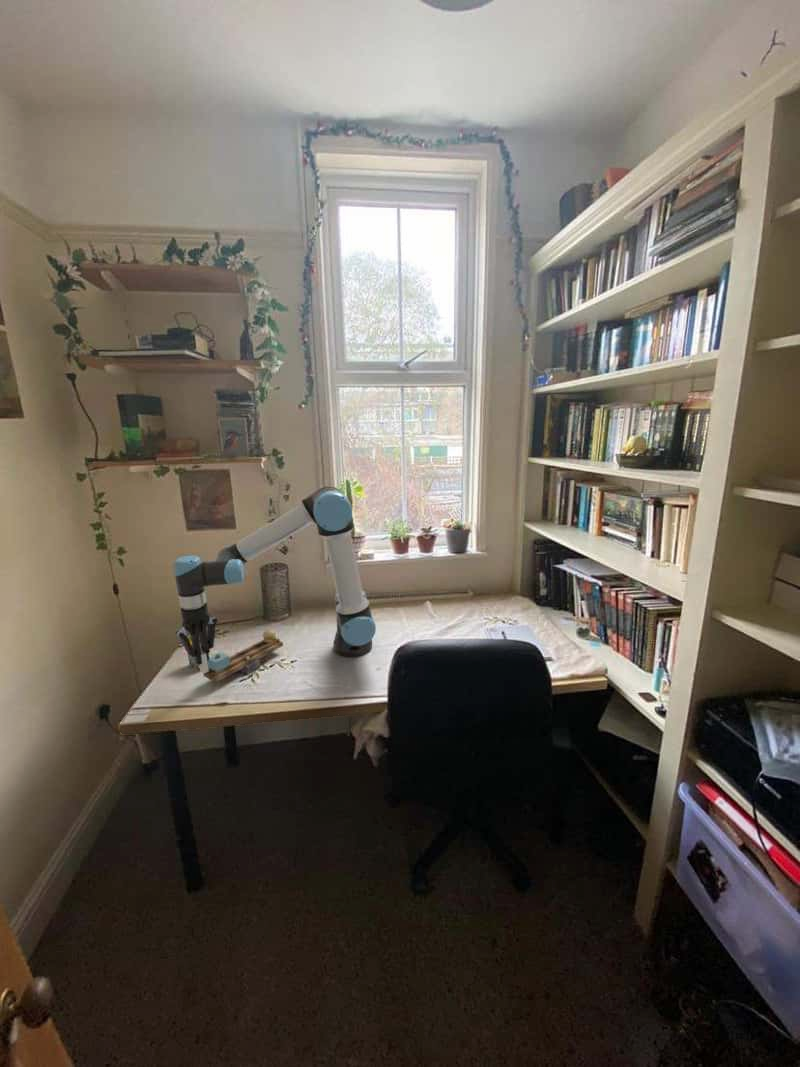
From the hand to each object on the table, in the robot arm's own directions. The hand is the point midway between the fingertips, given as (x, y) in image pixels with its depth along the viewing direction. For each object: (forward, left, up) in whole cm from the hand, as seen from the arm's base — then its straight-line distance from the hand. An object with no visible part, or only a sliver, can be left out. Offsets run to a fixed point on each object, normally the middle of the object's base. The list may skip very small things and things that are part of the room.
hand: (204, 670), depth 138 cm
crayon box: (+15, -6, -7) cm, 18 cm away
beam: (0, -15, -7) cm, 17 cm away
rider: (0, -5, -2) cm, 6 cm away
